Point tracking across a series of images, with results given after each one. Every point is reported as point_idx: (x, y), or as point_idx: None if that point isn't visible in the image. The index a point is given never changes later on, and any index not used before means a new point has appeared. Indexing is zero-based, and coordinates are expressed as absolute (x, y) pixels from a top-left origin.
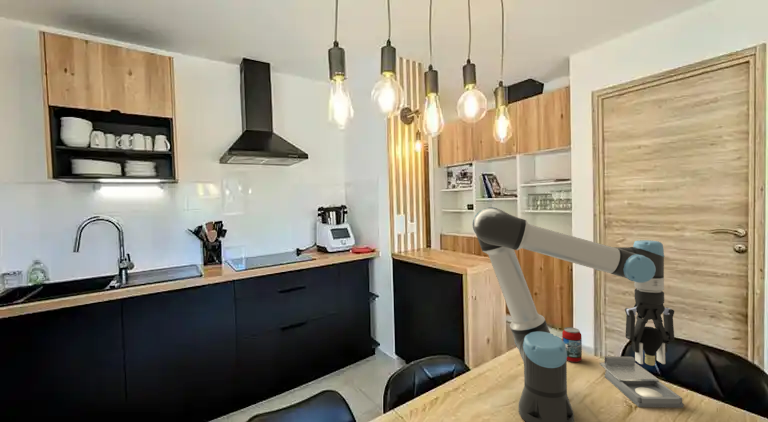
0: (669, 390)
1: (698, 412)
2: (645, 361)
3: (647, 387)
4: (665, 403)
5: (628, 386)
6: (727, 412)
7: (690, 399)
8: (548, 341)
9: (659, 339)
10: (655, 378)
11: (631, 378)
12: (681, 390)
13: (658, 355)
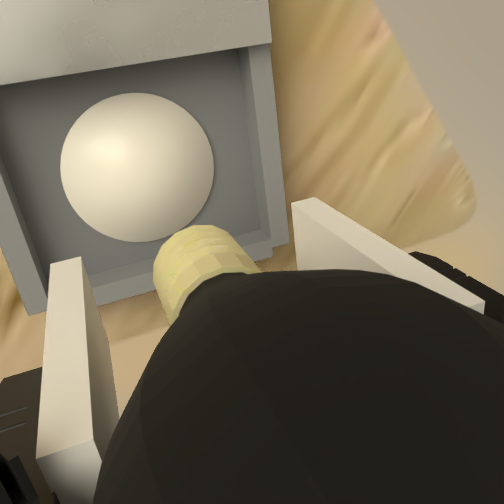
0: (269, 166)
1: None
2: (165, 251)
3: (168, 78)
4: None
5: (30, 87)
6: (425, 221)
7: (351, 135)
8: None
9: None
10: (255, 31)
11: (60, 64)
12: (368, 29)
13: (324, 254)
